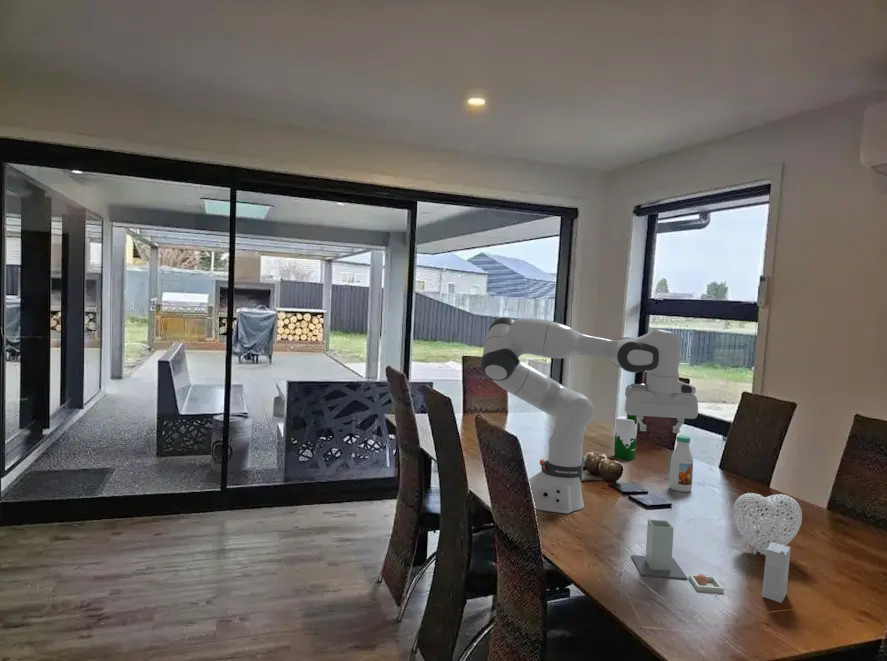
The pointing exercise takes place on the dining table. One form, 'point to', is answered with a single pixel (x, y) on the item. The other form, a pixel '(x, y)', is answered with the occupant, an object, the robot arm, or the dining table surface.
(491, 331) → the robot arm
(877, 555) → the dining table surface
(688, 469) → the milk bottle
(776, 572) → the skincare box
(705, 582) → the terracotta ball
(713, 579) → the sage dish
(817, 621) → the dining table surface
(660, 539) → the celadon tumbler
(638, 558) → the slate coaster
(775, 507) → the decorative heart
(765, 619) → the dining table surface
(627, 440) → the milk carton
